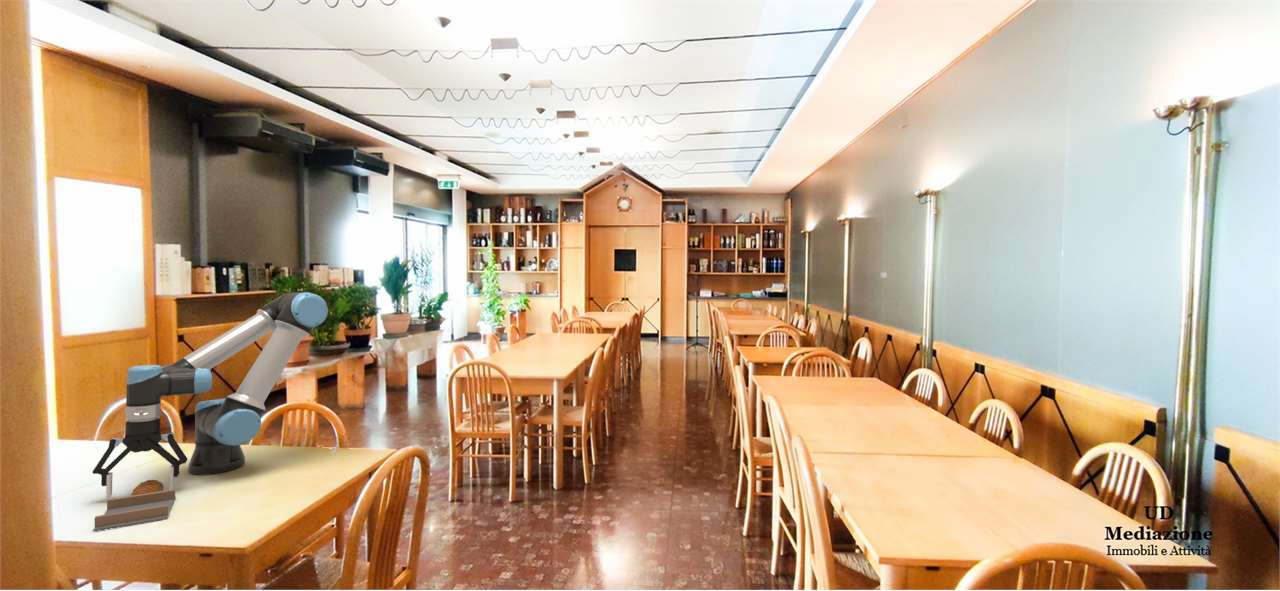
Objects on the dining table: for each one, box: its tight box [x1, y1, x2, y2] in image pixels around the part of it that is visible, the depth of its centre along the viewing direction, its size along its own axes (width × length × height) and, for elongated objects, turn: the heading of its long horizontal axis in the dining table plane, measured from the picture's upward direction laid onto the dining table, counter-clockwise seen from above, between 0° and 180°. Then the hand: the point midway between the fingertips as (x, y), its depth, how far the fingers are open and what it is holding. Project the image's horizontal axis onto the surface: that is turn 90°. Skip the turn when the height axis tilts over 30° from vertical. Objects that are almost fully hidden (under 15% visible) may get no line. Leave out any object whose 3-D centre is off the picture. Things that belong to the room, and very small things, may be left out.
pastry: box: [131, 479, 165, 496], centre depth 160 cm, size 9×7×4 cm
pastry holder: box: [92, 488, 177, 532], centre depth 147 cm, size 14×17×3 cm
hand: (141, 492), depth 159 cm, fingers open, 13 cm apart
